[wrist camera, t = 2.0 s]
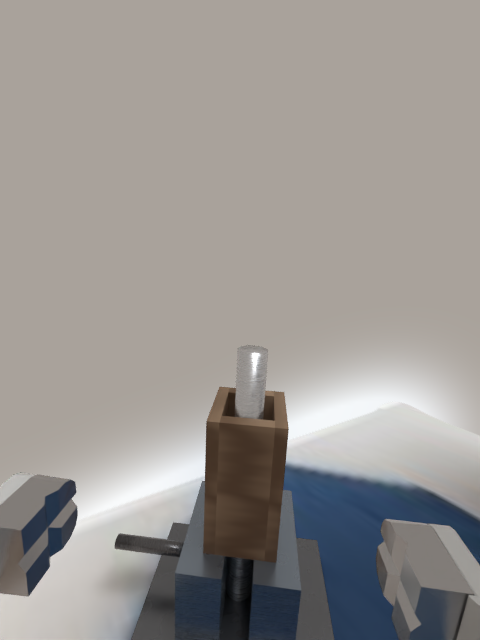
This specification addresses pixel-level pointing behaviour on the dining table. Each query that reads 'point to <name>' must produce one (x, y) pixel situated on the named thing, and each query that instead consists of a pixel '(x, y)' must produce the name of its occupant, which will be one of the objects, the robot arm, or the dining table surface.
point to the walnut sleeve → (244, 478)
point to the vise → (234, 566)
